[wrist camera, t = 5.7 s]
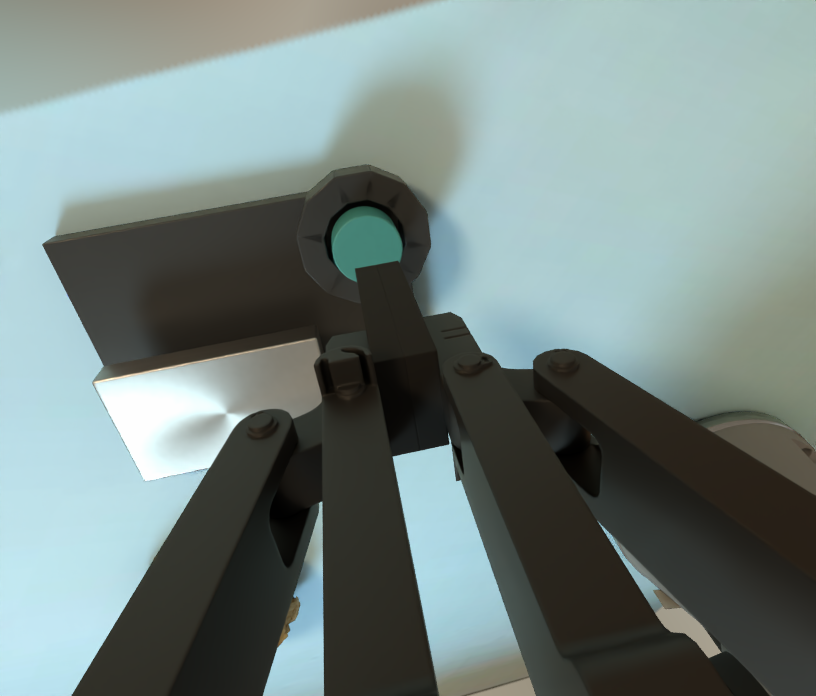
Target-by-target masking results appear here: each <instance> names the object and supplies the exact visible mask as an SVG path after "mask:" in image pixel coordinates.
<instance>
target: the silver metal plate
mask: <svg viewBox="0 0 816 696" xmlns="http://www.w3.org/2000/svg"><path fill="white" fill-rule="evenodd" d="M323 353H324V351H323V347H322V343H321V339H320V335H319V332H318V328H317V326H316V325H311V326H306V327H301V328H296V329H291V330H286V331H281V332H276V333H271V334H265V335H260V336H255V337H250V338H245V339H240V340H235V341H230V342H224V343H219V344H214V345H209V346H204V347H199V348H194V349H189V350H184V351H178V352H173V353H168V354H163V355H158V356H153V357H148V358H143V359H137V360H132V361H127V362H122V363H117V364H112V365H107V366H104V367H103V368H102V369H101V371H100V372H99V373H98V375H97V376H96V378H95V379H94V380H93V382H92V383H93V386H94V387H95V389H96V391H97V393H98V395H99V397H100V399H101V401H102V402H103V404H104V406H105V408H106V410H107V412H108V414H109V416H110V417H111V419H112V421H113V423H114V425H115V427H116V429H117V430H118V432H119V434H120V436H121V438H122V440H123V442H124V444H125V445H126V447H127V449H128V451H129V453H130V455H131V457H132V459H133V460H134V462H135V464H136V466H137V468H138V470H139V472H140V474H141V475H142V477H143V479H144V481H151V480H155V479H160V478H165V477H170V476H174V475H179V474H184V473H188V472H193V471H198V470H203V469H207V468H210V466H211V465H212V463H213V461H214V460H215V458H216V456H217V455H218V453H219V452H220V450H221V448H222V447H223V445H224V443H225V442H226V440H227V438H228V437H229V435H230V433H231V432H232V430H233V428H234V427H235V426H236V425H237V424H238V423H239V422H240V421H241V420H243V419H244V418H246V417H247V416H249V415H250V414H252V413H256V412H257V411H261V410H267V409H282V410H284V411H287V412H289V414H290V415H291V417H292V419H294V418H296V417H299V416H301V415H303V414H305V413H307V412H309V411H311V410H313V409H314V408H316V407H317V406H318V405H319V404H320V403H321V402H322V396H321V392H320V388H319V384H318V381H317V377H316V373H315V369H314V363H315V361H316V359H317V358H318V357H319V356H321V355H322V354H323Z"/></svg>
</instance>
